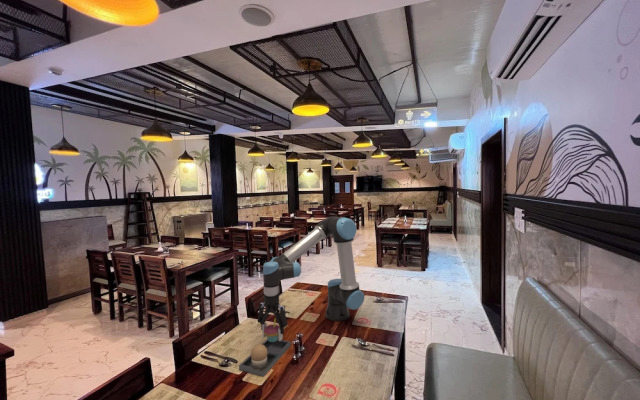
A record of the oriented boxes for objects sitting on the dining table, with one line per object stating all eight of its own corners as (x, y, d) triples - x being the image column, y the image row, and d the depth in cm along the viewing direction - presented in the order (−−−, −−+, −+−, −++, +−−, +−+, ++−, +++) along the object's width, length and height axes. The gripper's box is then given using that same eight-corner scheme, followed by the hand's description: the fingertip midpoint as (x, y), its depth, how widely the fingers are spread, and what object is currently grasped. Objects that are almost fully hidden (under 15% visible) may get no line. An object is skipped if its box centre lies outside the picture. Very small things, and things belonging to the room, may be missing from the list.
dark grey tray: (290, 347, 143) (290, 341, 143) (263, 378, 120) (263, 372, 120) (269, 342, 148) (269, 337, 148) (239, 372, 125) (238, 365, 125)
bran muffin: (271, 361, 130) (270, 342, 130) (261, 371, 123) (261, 351, 123) (257, 357, 133) (256, 339, 133) (247, 367, 126) (247, 348, 126)
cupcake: (284, 336, 142) (283, 313, 141) (276, 345, 134) (275, 321, 133) (269, 334, 145) (268, 311, 144) (260, 342, 137) (260, 318, 136)
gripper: (294, 293, 138) (295, 338, 139) (257, 288, 146) (259, 330, 147) (286, 299, 131) (287, 346, 132) (249, 293, 139) (250, 337, 140)
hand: (272, 337), depth 139 cm, fingers closed on cupcake, 8 cm apart
